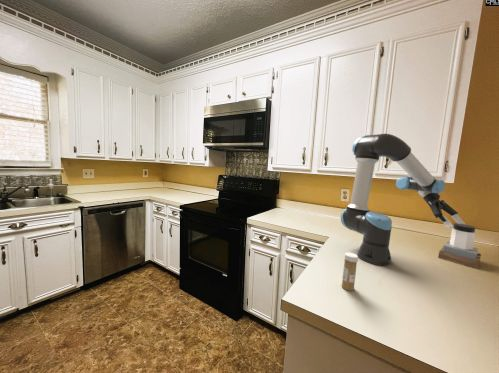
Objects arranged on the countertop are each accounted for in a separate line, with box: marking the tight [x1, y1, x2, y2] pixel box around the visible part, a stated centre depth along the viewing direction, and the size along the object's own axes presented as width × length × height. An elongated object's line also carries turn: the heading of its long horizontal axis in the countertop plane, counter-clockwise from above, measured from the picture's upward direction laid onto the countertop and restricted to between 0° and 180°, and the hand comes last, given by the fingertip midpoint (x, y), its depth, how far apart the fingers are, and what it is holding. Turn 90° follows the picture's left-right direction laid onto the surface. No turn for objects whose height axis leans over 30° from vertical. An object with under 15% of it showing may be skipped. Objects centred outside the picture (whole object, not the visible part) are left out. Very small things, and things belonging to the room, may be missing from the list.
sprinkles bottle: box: [341, 252, 359, 292], centre depth 81 cm, size 5×5×13 cm
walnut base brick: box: [437, 244, 482, 270], centre depth 115 cm, size 15×15×4 cm
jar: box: [449, 222, 476, 250], centre depth 114 cm, size 9×8×12 cm
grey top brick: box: [443, 241, 479, 260], centre depth 114 cm, size 12×12×4 cm
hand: (456, 226), depth 116 cm, fingers open, 13 cm apart
